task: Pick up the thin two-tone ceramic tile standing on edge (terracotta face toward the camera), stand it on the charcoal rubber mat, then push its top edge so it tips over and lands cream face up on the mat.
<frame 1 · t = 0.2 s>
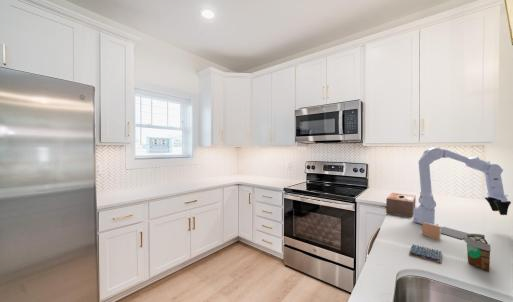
hand: (499, 212, 112), 11 cm above the worktop, tool pointing down, fingers open, 7 cm apart
spiky blue-grey pad: (425, 256, 89), on the worktop
tile: (431, 236, 107), on the worktop
tissue box cover: (401, 211, 152), on the worktop
food container: (474, 264, 82), on the worktop
mat: (451, 233, 112), on the worktop
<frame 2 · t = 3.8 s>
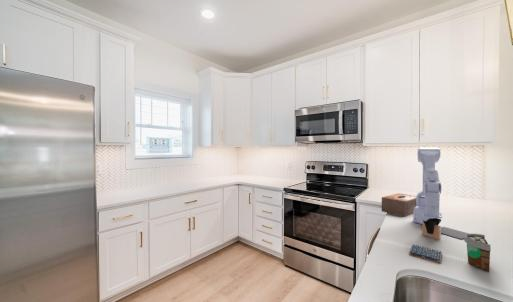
hand: (431, 233, 107), 2 cm above the worktop, tool pointing down, fingers closed on tile, 2 cm apart
tile: (431, 236, 107), on the worktop, touching gripper
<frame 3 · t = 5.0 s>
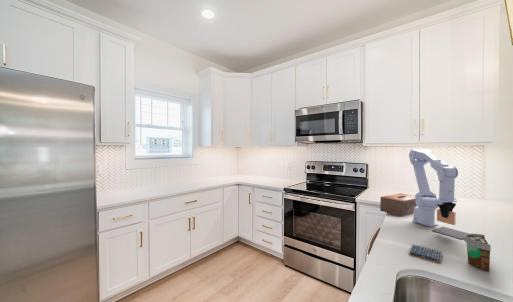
hand: (445, 217, 110), 9 cm above the worktop, tool pointing down, fingers closed on tile
tile: (445, 222, 110), point 6 cm above the worktop, touching gripper
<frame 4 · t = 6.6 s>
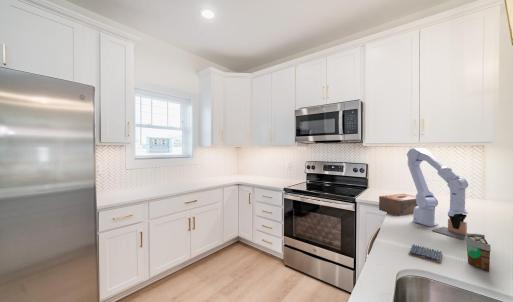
hand: (456, 228, 112), 3 cm above the worktop, tool pointing down, fingers closed on tile, 2 cm apart
tile: (457, 232, 112), resting on mat, touching gripper
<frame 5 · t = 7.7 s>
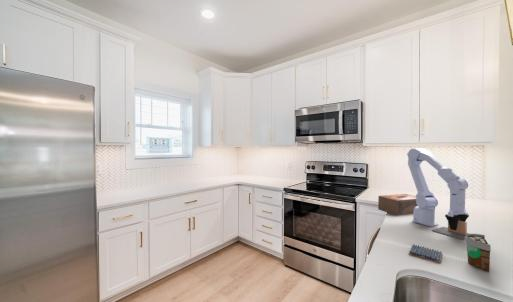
hand: (456, 228, 112), 2 cm above the worktop, tool pointing down, fingers open, 7 cm apart
tile: (457, 232, 112), resting on mat
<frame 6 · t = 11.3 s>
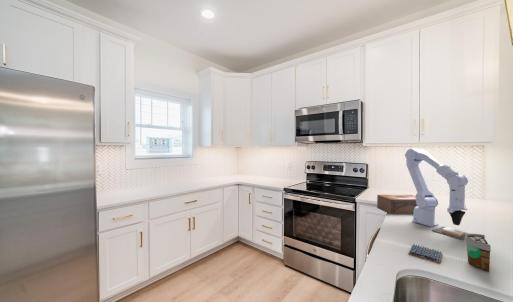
hand: (456, 224, 111), 4 cm above the worktop, tool pointing down, fingers closed
tile: (456, 230, 111), point 1 cm above the worktop, tilted 90°, touching mat
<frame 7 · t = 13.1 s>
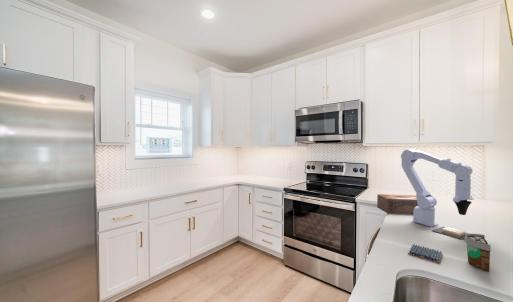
hand: (462, 214, 112), 9 cm above the worktop, tool pointing down, fingers closed
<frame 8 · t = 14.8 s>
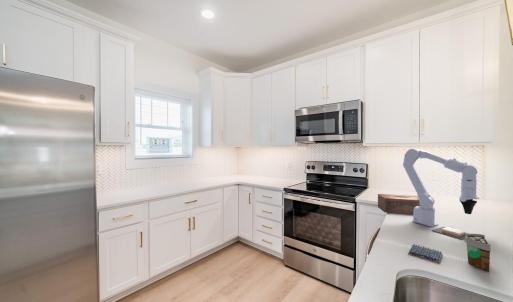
hand: (468, 213, 114), 9 cm above the worktop, tool pointing down, fingers closed
at the end: tile tilted 90°; tile inside the target area on the mat (1.9 cm from its centre), point 1.4 cm above the mat's base; the gripper is holding nothing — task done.
